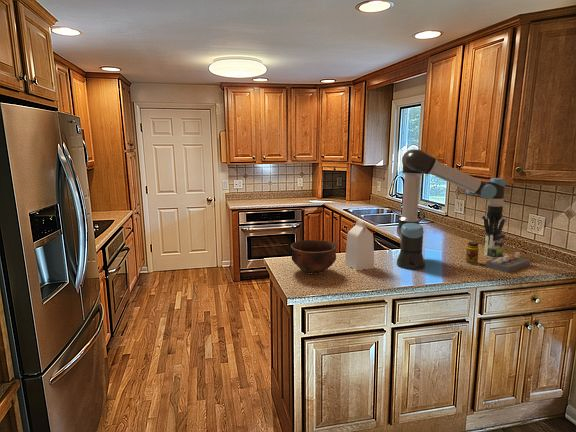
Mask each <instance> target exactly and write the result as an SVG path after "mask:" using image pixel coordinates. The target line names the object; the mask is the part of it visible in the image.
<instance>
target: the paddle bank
mask: <svg viewBox="0 0 576 432" xmlns="http://www.w3.org/2000/svg"><path fill="white" fill-rule="evenodd" d="M507 255H509V256H507ZM503 256H504V257H503V258H502V257H499V258H498V259H497V263H498V264H501V263H503V262H507V261H510V260H514V259H516V258H520V256H521V253H520V252H518V251H516V252H514V253H510V254H506V255H503ZM514 256H515V257H514Z"/></svg>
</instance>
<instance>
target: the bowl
mask: <svg viewBox="0 0 576 432" xmlns="http://www.w3.org/2000/svg"><path fill="white" fill-rule="evenodd" d="M337 247H338V245H337V244H336V243H334V242H332V241H329V240H322V239H321V240H320V239H319V240H316V239H315V240H314V239H312V240H311V239H306V240H298V241H294V242H292V243H291V244H290V250H291V260H292V262H293V263H294V264H295V265H296V266H297V268H299V269H300V271H301V272H303V273H305V274H307V273H310V274H309V275H316V274H315V273H318V274H322V273H323V272H325V271H326V270H328V269H330V268H331V266H332V265H334V263H335V262H336V260H337V253H336V250H337ZM321 272H322V273H321ZM311 273H312V274H311Z"/></svg>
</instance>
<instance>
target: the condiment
mask: <svg viewBox="0 0 576 432" xmlns="http://www.w3.org/2000/svg"><path fill="white" fill-rule="evenodd" d="M465 252H466V253H465V254H466V255H465V259H464V260H463V259H462V260H461V261H462V262H463V263H464V264H466V265H468V266H469V265H470V266H472V265H474V266H478V265H481V264H480V263H479V262H478V260H479V243H478V242H474V241H471V242H470V241H469V242H468V243H467V247H466V251H465Z"/></svg>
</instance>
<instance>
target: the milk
mask: <svg viewBox="0 0 576 432" xmlns="http://www.w3.org/2000/svg"><path fill="white" fill-rule="evenodd" d="M355 222H356V223H355V224H354V226H353V227H352V228H351V229H350V230H349V231H348V232H347V235H346V247H345V260H344V261H345V262H344V265H345V264H346V265H345V266H347V265H348V266H350V267H352V268H353V269H352V268H351V269H352V270H354V269H355V270H359V271H362V270H361V269H366V270H369V269H368V268H373V269H375V249H374V247H375V245H374V243H375V242H374V241H375V240H374V235H373V233H372V232H371V231H370V230H369V229H368V228H367V227H366V224H365V223H366V222H365V221H362V220H359V219H358V220H356V221H355ZM348 266H347V267H348ZM350 267H349V268H350ZM355 270H354V271H355Z"/></svg>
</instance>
